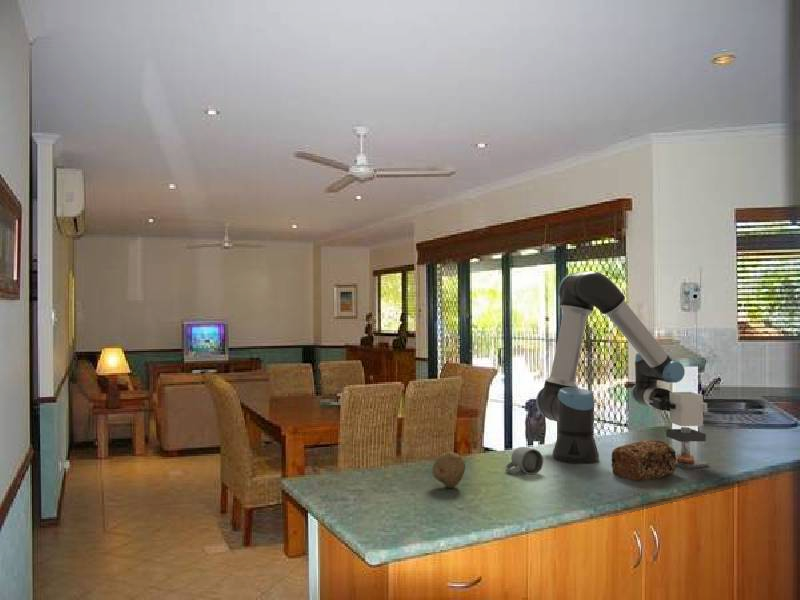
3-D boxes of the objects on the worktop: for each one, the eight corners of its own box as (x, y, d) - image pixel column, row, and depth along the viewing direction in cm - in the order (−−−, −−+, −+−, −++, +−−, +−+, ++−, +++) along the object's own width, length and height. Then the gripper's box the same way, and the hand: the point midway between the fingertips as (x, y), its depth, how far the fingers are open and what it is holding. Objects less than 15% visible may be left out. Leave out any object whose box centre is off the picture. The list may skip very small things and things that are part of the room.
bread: (648, 468, 217) (648, 436, 217) (678, 475, 208) (678, 442, 208) (609, 475, 206) (609, 442, 207) (638, 483, 198) (638, 448, 198)
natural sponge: (438, 492, 184) (438, 456, 184) (428, 484, 193) (428, 449, 193) (469, 490, 186) (469, 454, 187) (458, 482, 195) (458, 448, 195)
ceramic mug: (529, 467, 215) (529, 443, 215) (543, 473, 207) (543, 448, 207) (500, 470, 211) (500, 446, 211) (513, 476, 203) (513, 451, 203)
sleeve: (681, 426, 218) (681, 395, 218) (669, 422, 225) (669, 392, 225) (703, 425, 218) (702, 394, 219) (690, 421, 226) (690, 391, 226)
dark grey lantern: (687, 469, 215) (687, 431, 215) (662, 462, 224) (662, 426, 224) (709, 466, 219) (709, 429, 219) (683, 459, 228) (683, 424, 228)
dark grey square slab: (679, 441, 217) (680, 434, 217) (666, 436, 226) (666, 429, 226) (705, 441, 218) (705, 433, 218) (691, 436, 227) (691, 428, 227)
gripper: (686, 408, 241) (723, 419, 218) (631, 409, 238) (664, 420, 216) (686, 387, 241) (723, 395, 218) (631, 388, 239) (664, 396, 216)
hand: (694, 408), depth 217 cm, fingers closed on sleeve, 7 cm apart
